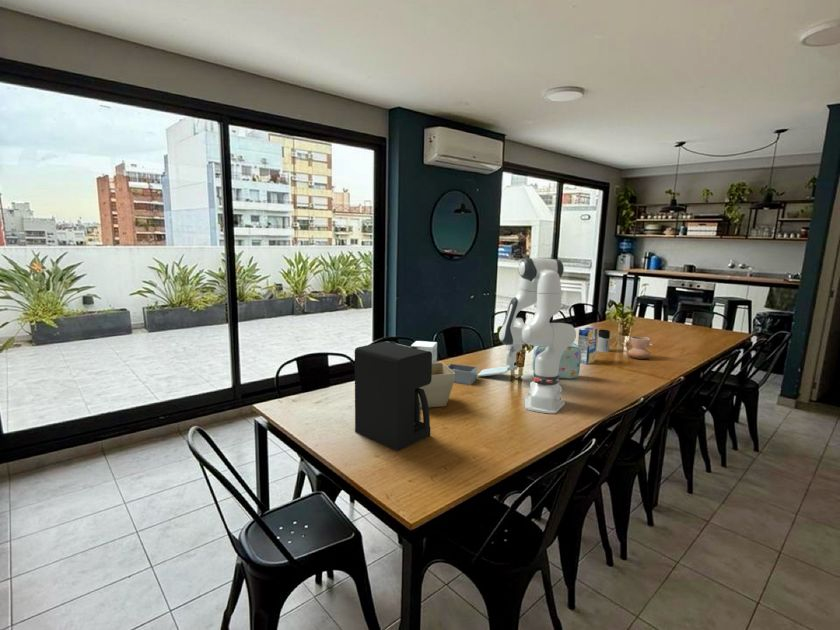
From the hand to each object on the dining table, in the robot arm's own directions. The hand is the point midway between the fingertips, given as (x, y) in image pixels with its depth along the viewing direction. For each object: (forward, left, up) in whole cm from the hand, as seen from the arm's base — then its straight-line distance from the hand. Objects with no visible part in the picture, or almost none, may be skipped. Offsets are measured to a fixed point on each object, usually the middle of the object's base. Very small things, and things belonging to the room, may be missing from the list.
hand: (512, 369), depth 250 cm
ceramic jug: (+88, -68, -6) cm, 111 cm away
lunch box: (+16, -22, -6) cm, 28 cm away
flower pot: (-56, +28, -6) cm, 63 cm away
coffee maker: (-95, +26, -6) cm, 99 cm away
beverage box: (+59, -36, -6) cm, 69 cm away
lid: (0, +8, -3) cm, 8 cm away
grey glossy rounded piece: (-13, +30, -5) cm, 33 cm away
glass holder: (+97, -48, -6) cm, 108 cm away
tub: (-15, +26, -6) cm, 31 cm away
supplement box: (-11, +50, -6) cm, 52 cm away
